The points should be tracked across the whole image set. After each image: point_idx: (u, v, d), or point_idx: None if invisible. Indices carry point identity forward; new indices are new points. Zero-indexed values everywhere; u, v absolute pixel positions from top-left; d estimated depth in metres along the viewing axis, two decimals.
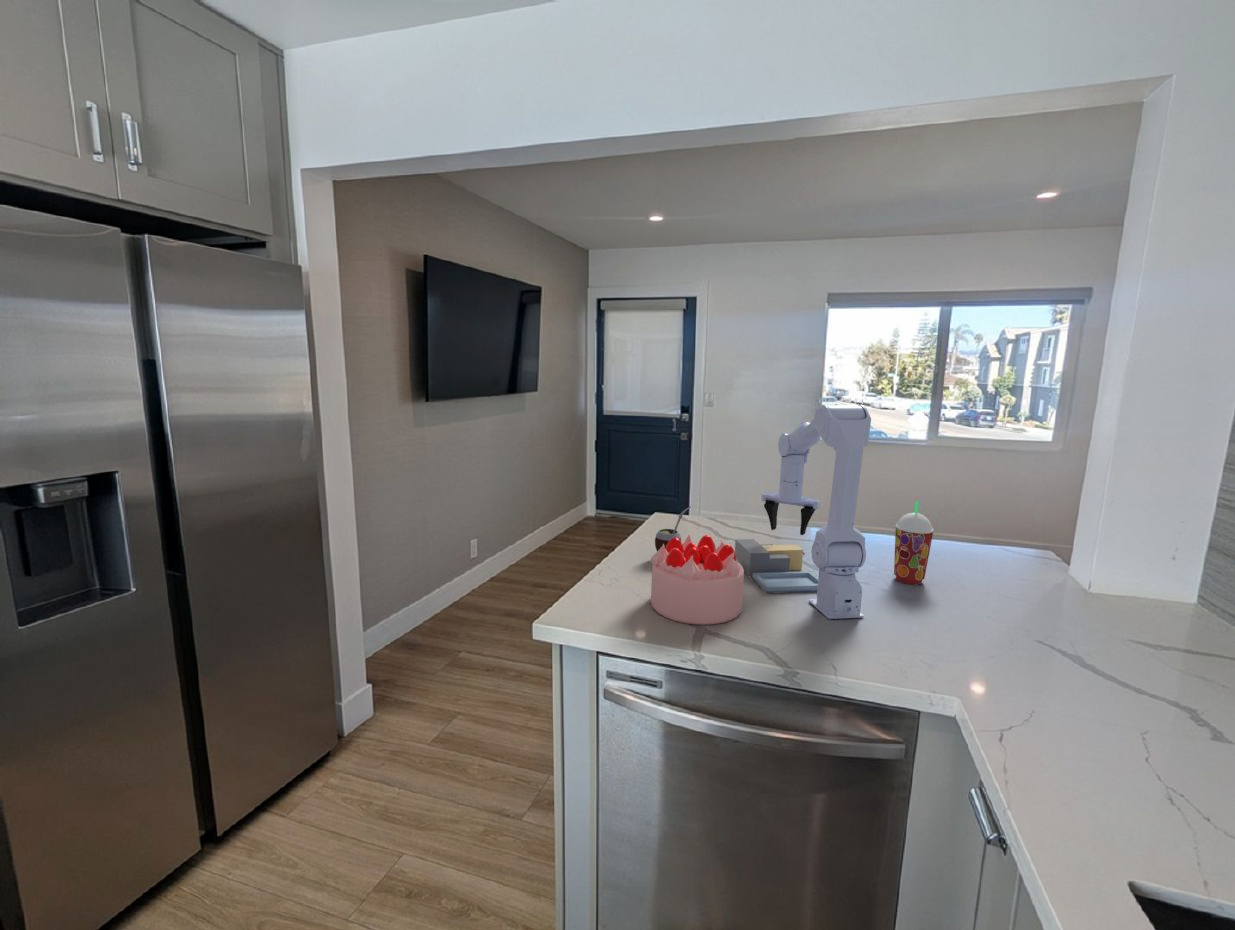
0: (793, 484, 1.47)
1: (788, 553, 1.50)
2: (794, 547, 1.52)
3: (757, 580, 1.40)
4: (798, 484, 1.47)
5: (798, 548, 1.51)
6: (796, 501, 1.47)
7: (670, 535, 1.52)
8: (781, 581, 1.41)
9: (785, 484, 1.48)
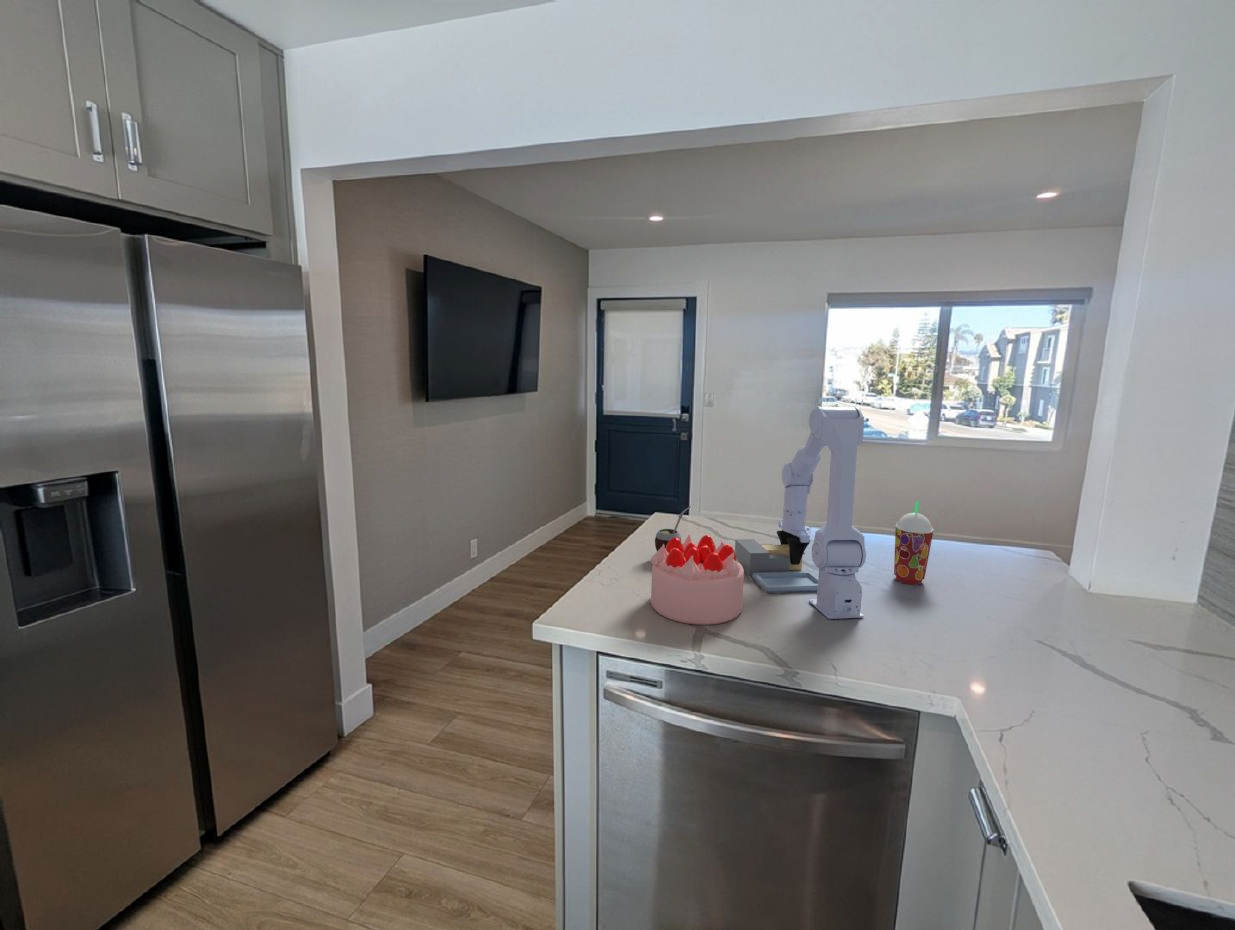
0: (787, 513, 1.48)
1: (788, 553, 1.50)
2: None
3: (757, 580, 1.40)
4: (792, 514, 1.48)
5: None
6: (788, 531, 1.48)
7: (670, 535, 1.52)
8: (781, 581, 1.41)
9: (783, 512, 1.50)
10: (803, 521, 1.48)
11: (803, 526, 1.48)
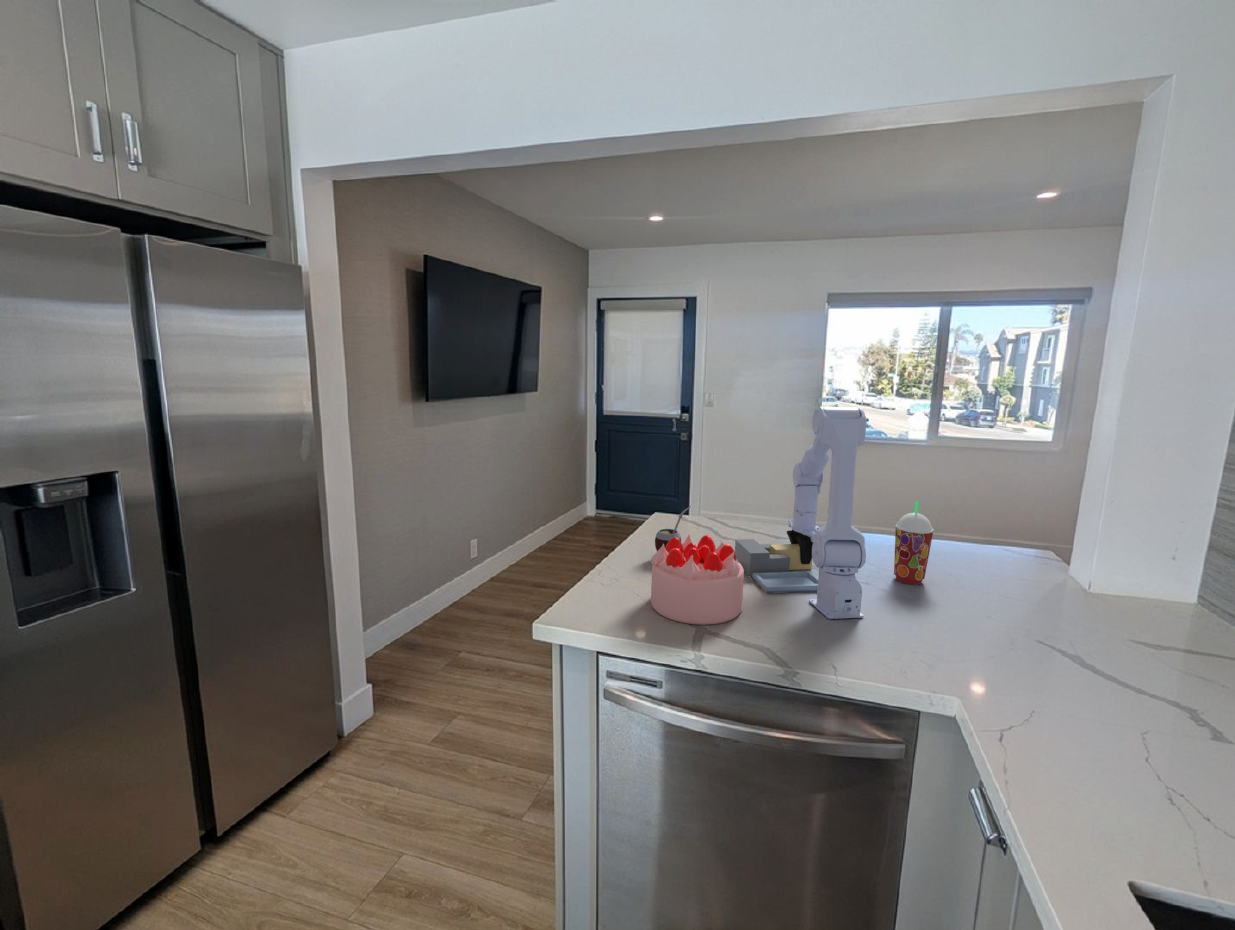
0: (798, 513, 1.49)
1: (798, 552, 1.50)
2: None
3: (757, 580, 1.40)
4: (803, 514, 1.48)
5: None
6: (799, 530, 1.49)
7: (670, 535, 1.52)
8: (781, 581, 1.41)
9: (793, 512, 1.51)
10: (813, 521, 1.49)
11: (813, 526, 1.49)
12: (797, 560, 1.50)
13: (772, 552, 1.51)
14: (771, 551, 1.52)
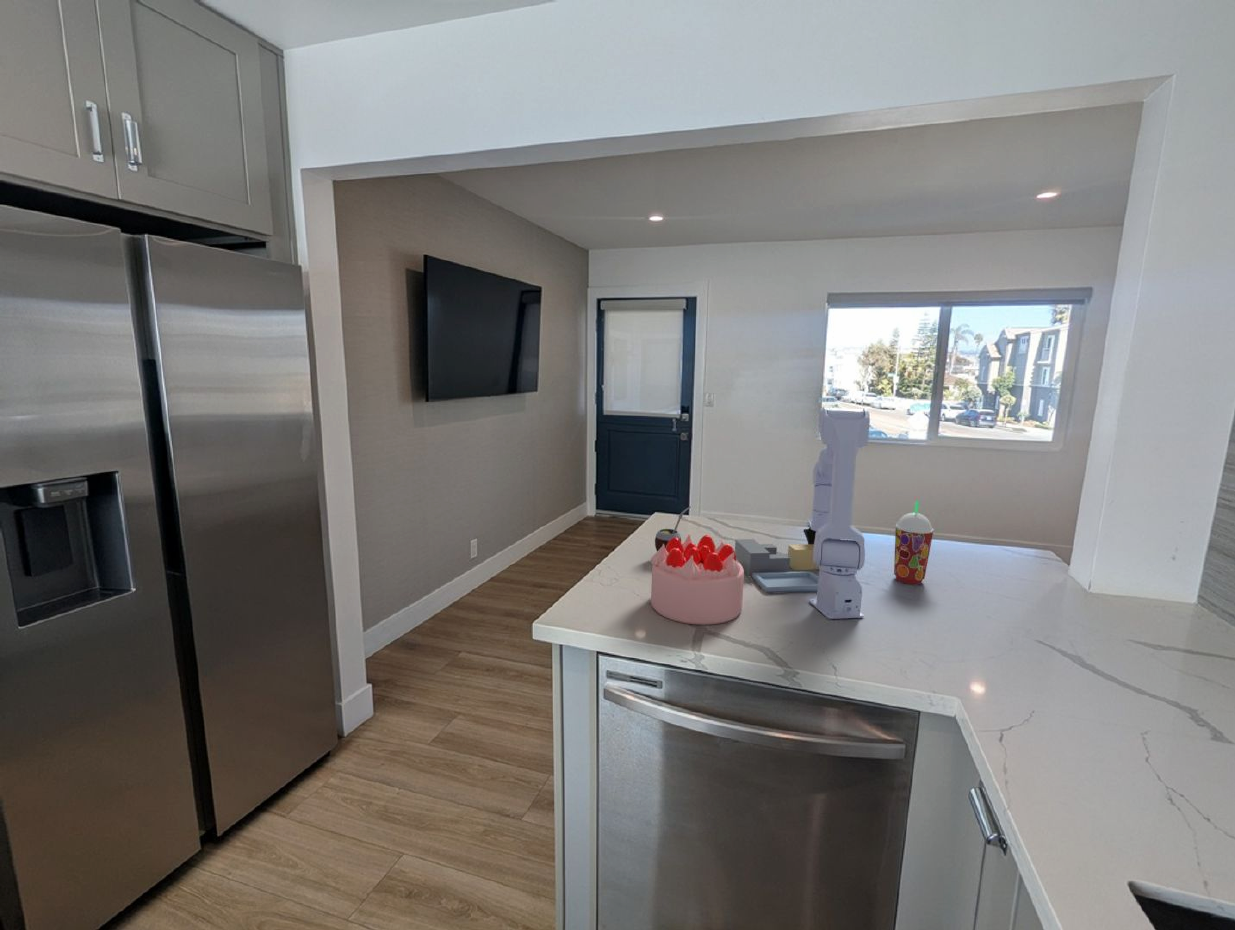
0: (817, 513, 1.49)
1: None
2: None
3: (757, 580, 1.40)
4: (822, 514, 1.49)
5: None
6: (818, 530, 1.49)
7: (670, 535, 1.52)
8: (781, 581, 1.41)
9: (812, 512, 1.51)
10: None
11: None
12: None
13: (791, 552, 1.52)
14: (790, 551, 1.53)
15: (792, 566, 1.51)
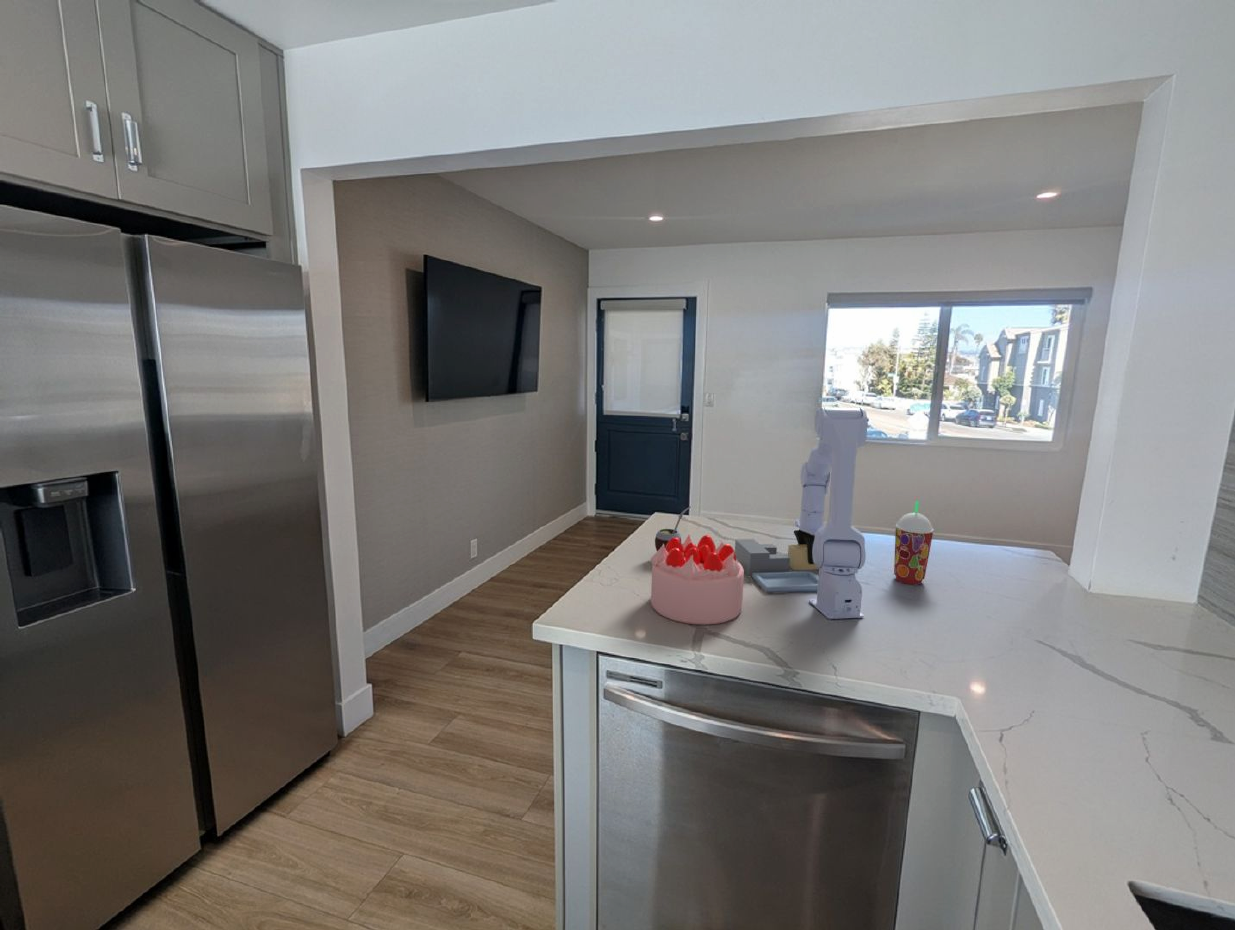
0: (805, 513, 1.49)
1: None
2: None
3: (757, 580, 1.40)
4: (810, 514, 1.48)
5: None
6: (806, 530, 1.49)
7: (670, 535, 1.52)
8: (781, 581, 1.41)
9: (801, 512, 1.51)
10: (821, 521, 1.49)
11: (821, 526, 1.49)
12: None
13: (791, 552, 1.52)
14: (790, 551, 1.53)
15: (792, 566, 1.51)
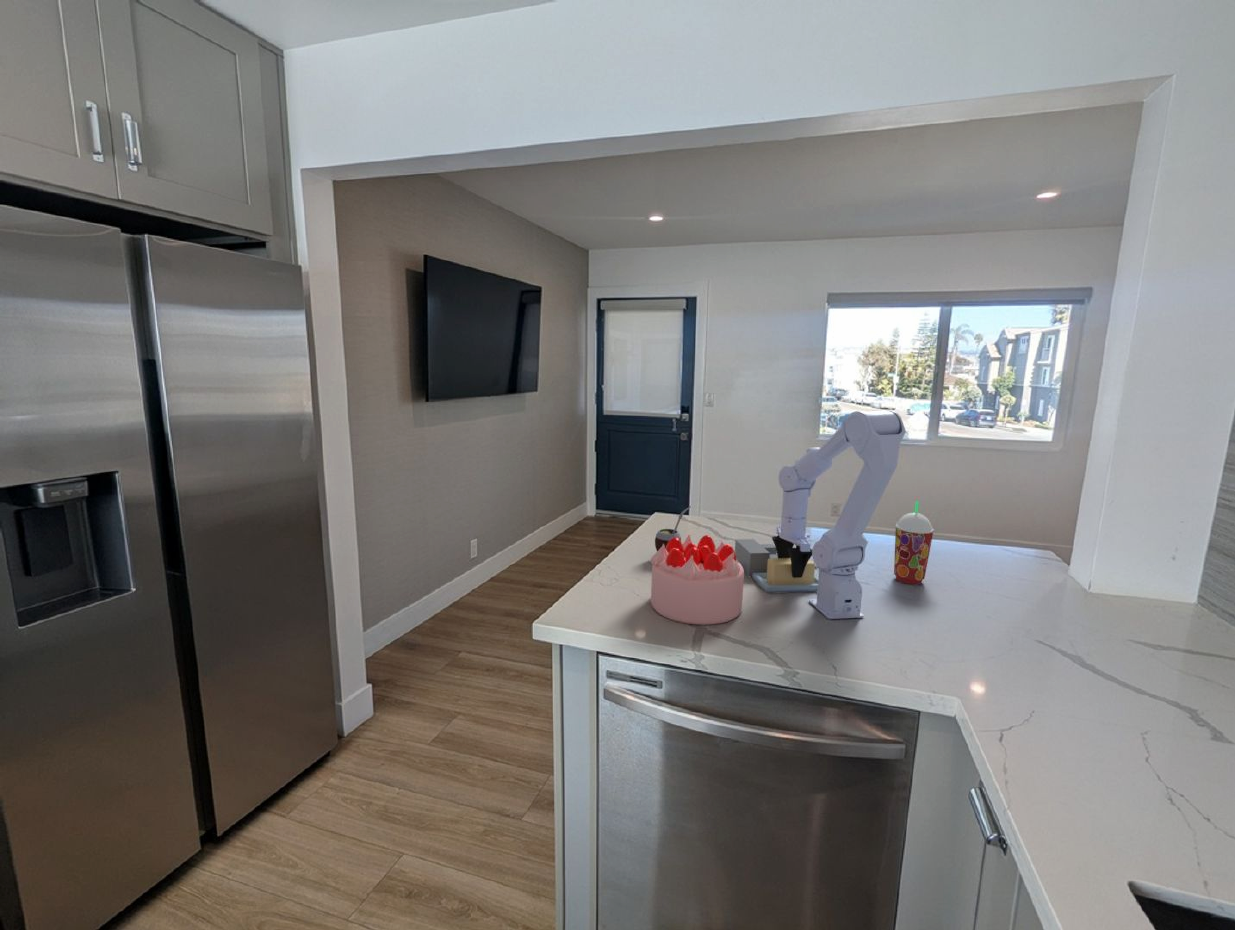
0: (786, 519, 1.36)
1: None
2: None
3: (757, 580, 1.40)
4: (791, 521, 1.35)
5: (810, 561, 1.39)
6: (787, 538, 1.35)
7: (670, 535, 1.52)
8: None
9: (781, 518, 1.38)
10: (803, 528, 1.35)
11: (803, 533, 1.36)
12: None
13: (770, 567, 1.39)
14: (769, 566, 1.40)
15: (771, 582, 1.38)
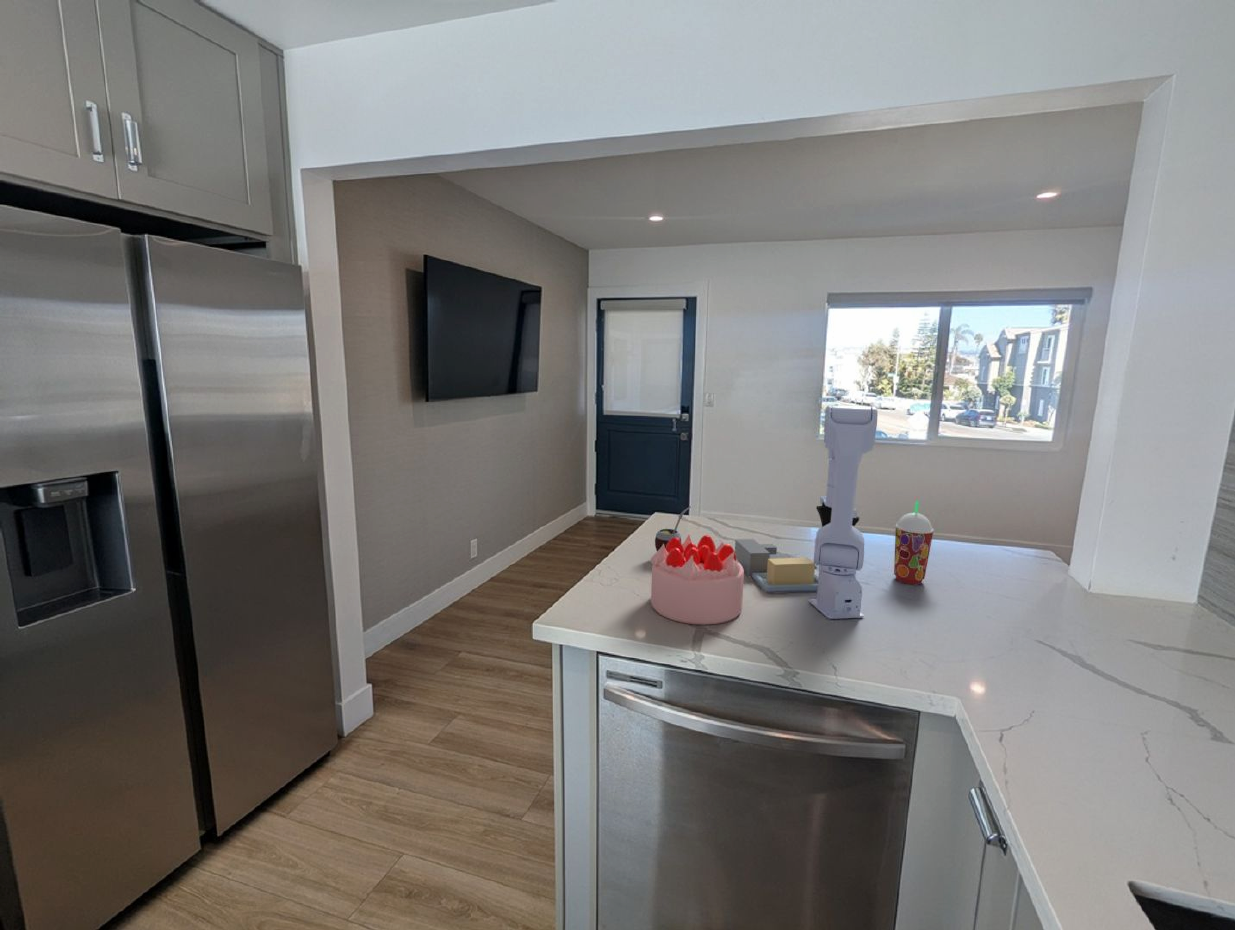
0: (832, 488, 1.42)
1: (799, 567, 1.37)
2: (805, 560, 1.39)
3: (757, 580, 1.40)
4: None
5: (810, 561, 1.39)
6: None
7: (670, 535, 1.52)
8: None
9: (827, 487, 1.44)
10: None
11: None
12: (797, 576, 1.38)
13: (770, 567, 1.39)
14: (769, 566, 1.40)
15: (771, 582, 1.38)
